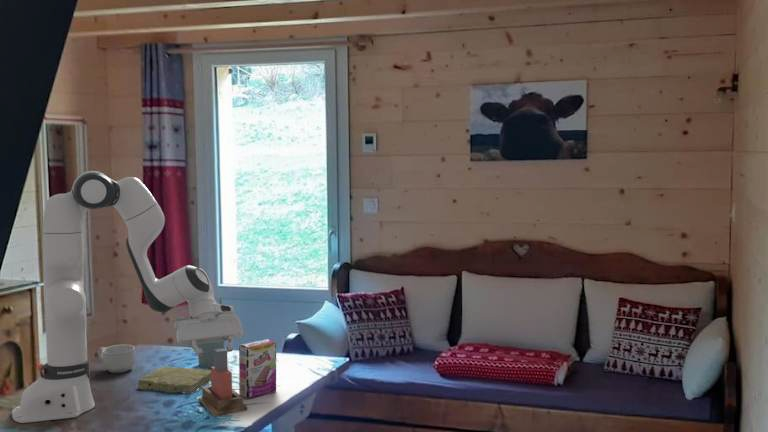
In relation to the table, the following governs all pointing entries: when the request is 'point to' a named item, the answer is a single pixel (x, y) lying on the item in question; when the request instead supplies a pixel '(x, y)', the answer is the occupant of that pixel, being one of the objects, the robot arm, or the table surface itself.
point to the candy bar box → (257, 368)
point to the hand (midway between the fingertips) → (215, 352)
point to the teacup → (118, 357)
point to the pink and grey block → (221, 375)
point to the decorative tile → (175, 379)
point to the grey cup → (209, 353)
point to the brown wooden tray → (221, 402)
